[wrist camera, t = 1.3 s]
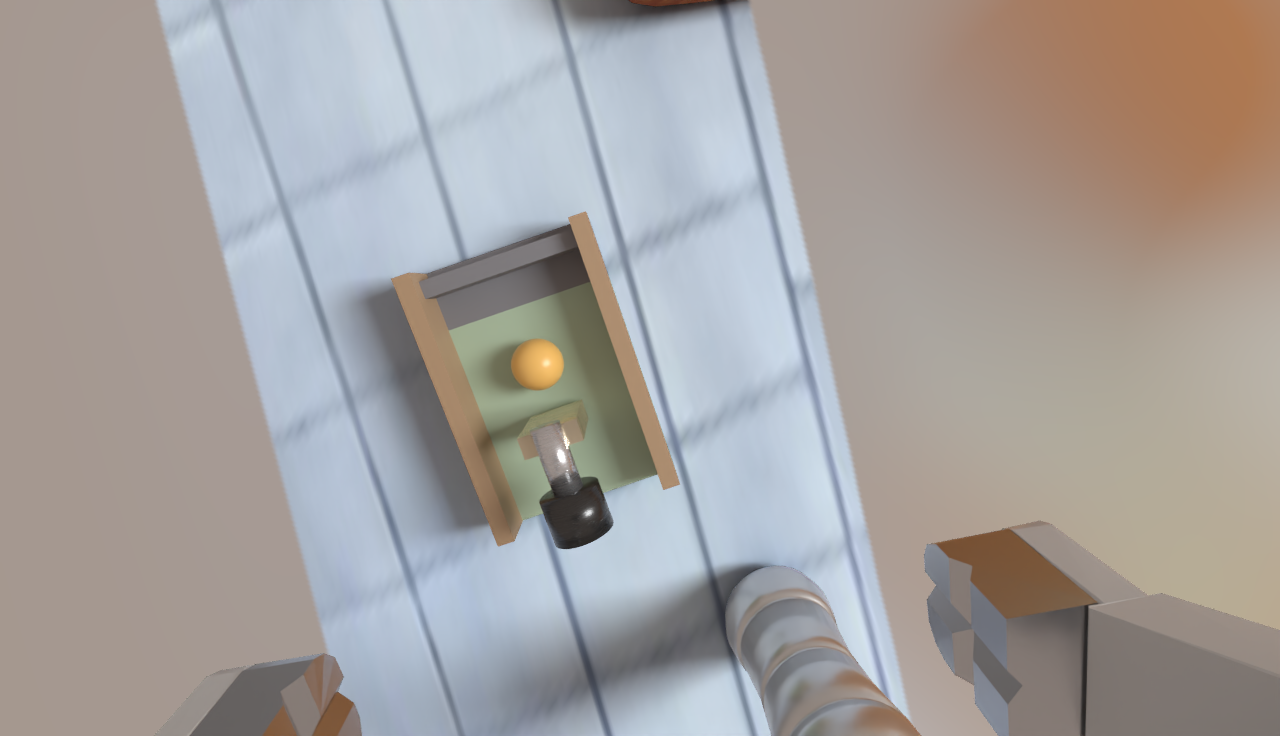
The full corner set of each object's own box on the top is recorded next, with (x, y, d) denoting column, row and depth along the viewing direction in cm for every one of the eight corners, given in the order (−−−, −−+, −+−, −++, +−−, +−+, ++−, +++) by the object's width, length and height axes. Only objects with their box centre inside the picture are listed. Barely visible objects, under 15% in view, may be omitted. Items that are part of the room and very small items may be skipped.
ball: (573, 376, 36) (569, 384, 33) (526, 392, 36) (517, 402, 33) (555, 329, 35) (550, 333, 32) (508, 345, 35) (498, 351, 32)
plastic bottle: (698, 603, 39) (781, 926, 19) (771, 533, 39) (933, 790, 19) (764, 665, 40) (910, 1036, 20) (837, 596, 40) (1059, 908, 20)
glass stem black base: (613, 487, 36) (613, 535, 29) (564, 504, 36) (552, 556, 29) (580, 396, 35) (572, 422, 28) (530, 413, 35) (509, 444, 28)
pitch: (673, 463, 38) (679, 484, 34) (510, 519, 38) (498, 546, 34) (589, 219, 36) (585, 211, 32) (416, 279, 36) (390, 278, 32)
